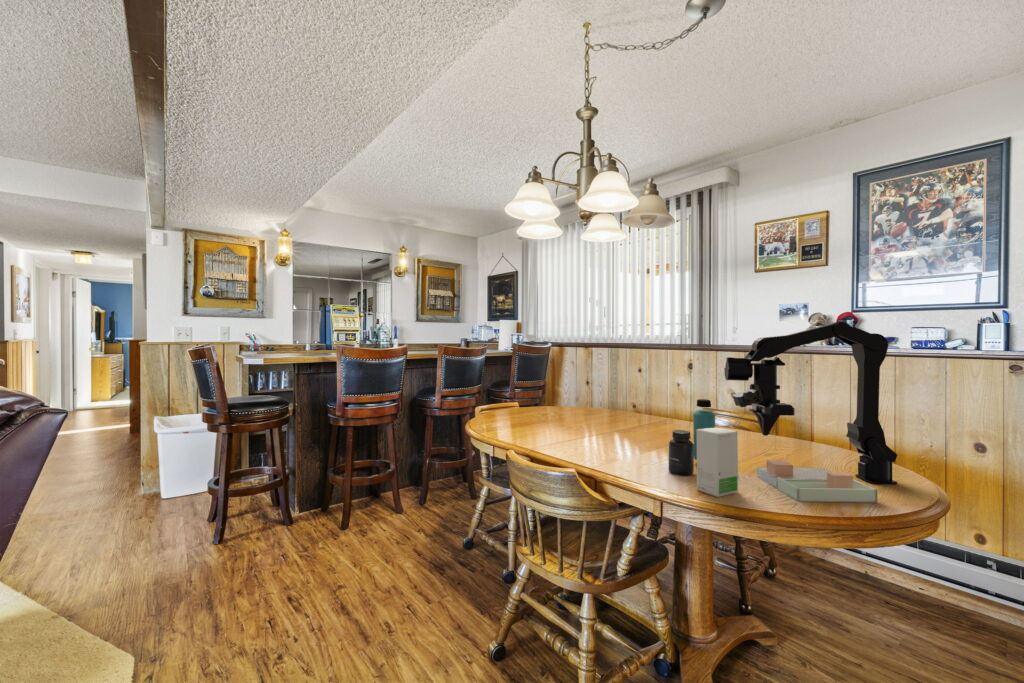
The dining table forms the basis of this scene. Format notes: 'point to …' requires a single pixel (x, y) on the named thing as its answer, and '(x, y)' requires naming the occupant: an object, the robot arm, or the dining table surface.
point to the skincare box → (717, 461)
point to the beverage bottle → (702, 420)
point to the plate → (794, 475)
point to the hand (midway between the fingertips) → (765, 435)
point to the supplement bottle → (681, 454)
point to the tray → (826, 492)
